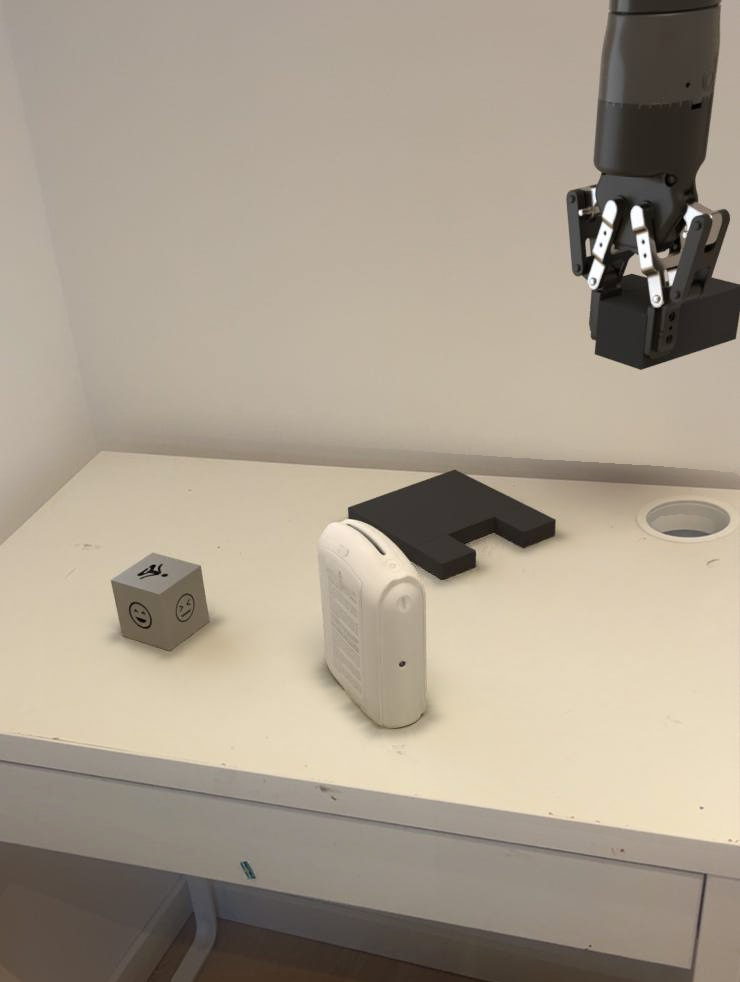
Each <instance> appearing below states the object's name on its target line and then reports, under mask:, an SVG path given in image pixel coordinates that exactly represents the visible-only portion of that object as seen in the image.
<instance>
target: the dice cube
mask: <svg viewBox="0 0 740 982" xmlns="http://www.w3.org/2000/svg"><path fill="white" fill-rule="evenodd" d="M110 585H111V589H112V593H113V599H114V602H115V607H116V612H117V617H118V621H119V627H120V633H121V636H122V637H124V638H128V639H131V640H134V641H138V642H141V643H143V644H147V645H150V646H152V647H156V648H159V649H162V650H165V651H169V652H171V651H172V650H173V649H175V648H176V647H177V646H179V645H180V644H181V643H182V642H184V641H185V640H187V639H188V638H189V637H190V636H192V635H193V634H196V632H197V631H198V630H200V629H202V628H203V627H204V626H206V625H207V624H208V623H210V615H209V609H208V602H207V596H206V590H205V589H206V588H205V583H204V575H203V570H202V565H200V564H197V563H193V562H190V561H186V560H182V559H179V558H174V557H171V556H168V555H164V554H159V553H156V552H151V553H149V554H148V555H146V556H145V557H144V558H142V559H140V560H139V561H136V563H134V564H133V565H131V566H130V567H128V568H127V569H125V570H123V571H122V572H121V573H119V574H118V575H116V576H115V577H113V578H112V579H110Z"/></svg>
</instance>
